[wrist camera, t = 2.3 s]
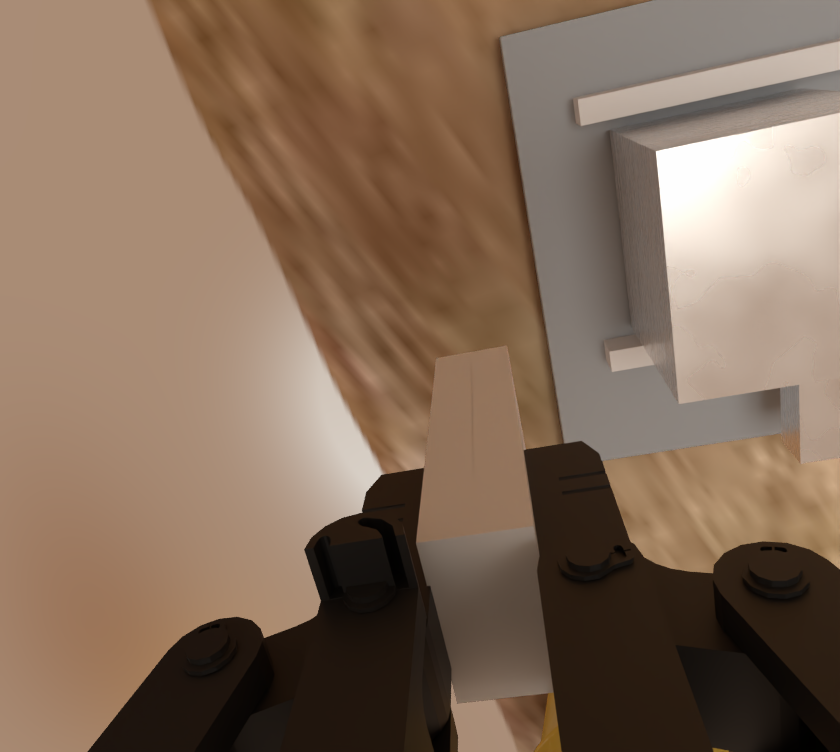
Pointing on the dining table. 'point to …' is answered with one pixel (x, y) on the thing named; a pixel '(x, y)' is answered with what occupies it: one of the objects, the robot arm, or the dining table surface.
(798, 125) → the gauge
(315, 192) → the dining table surface
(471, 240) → the dining table surface
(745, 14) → the grey slider board
